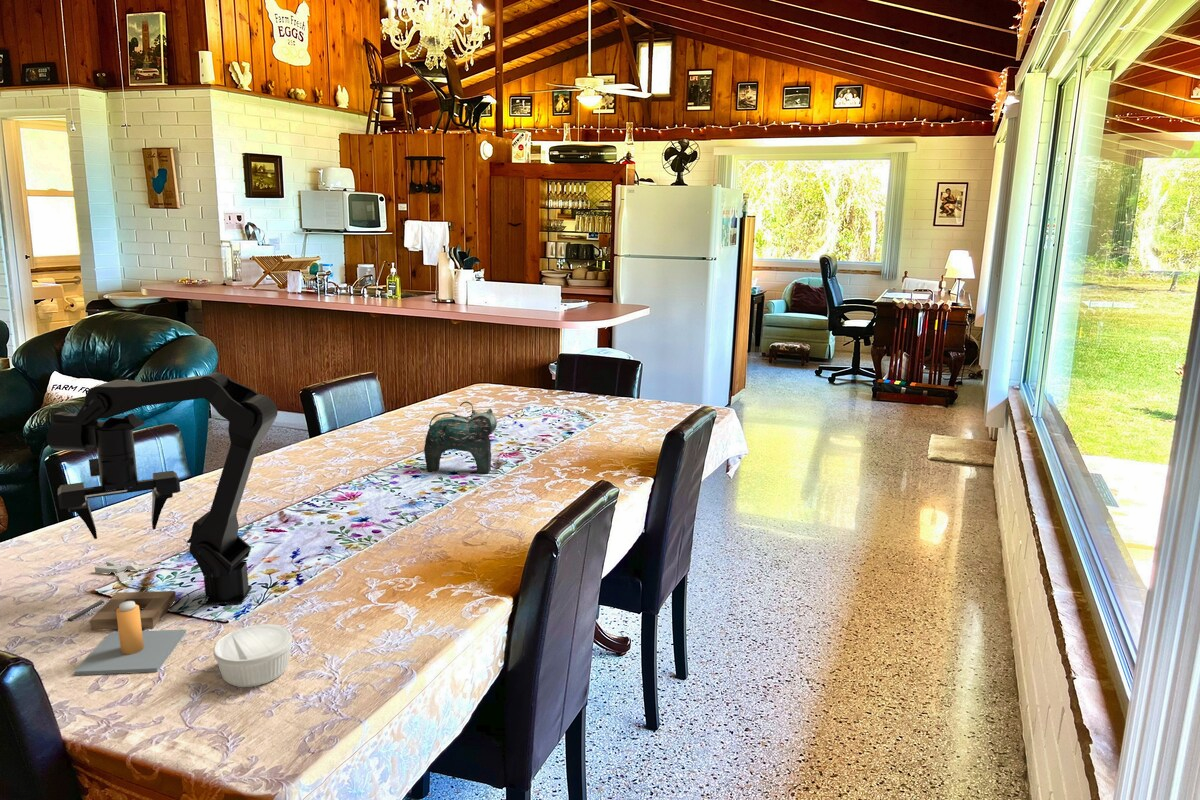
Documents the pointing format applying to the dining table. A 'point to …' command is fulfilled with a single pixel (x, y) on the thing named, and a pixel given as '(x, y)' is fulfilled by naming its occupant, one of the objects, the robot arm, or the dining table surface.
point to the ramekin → (253, 654)
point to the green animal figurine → (461, 438)
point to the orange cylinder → (129, 628)
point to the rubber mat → (147, 660)
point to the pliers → (121, 569)
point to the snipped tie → (85, 610)
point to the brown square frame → (150, 601)
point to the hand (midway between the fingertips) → (125, 533)
